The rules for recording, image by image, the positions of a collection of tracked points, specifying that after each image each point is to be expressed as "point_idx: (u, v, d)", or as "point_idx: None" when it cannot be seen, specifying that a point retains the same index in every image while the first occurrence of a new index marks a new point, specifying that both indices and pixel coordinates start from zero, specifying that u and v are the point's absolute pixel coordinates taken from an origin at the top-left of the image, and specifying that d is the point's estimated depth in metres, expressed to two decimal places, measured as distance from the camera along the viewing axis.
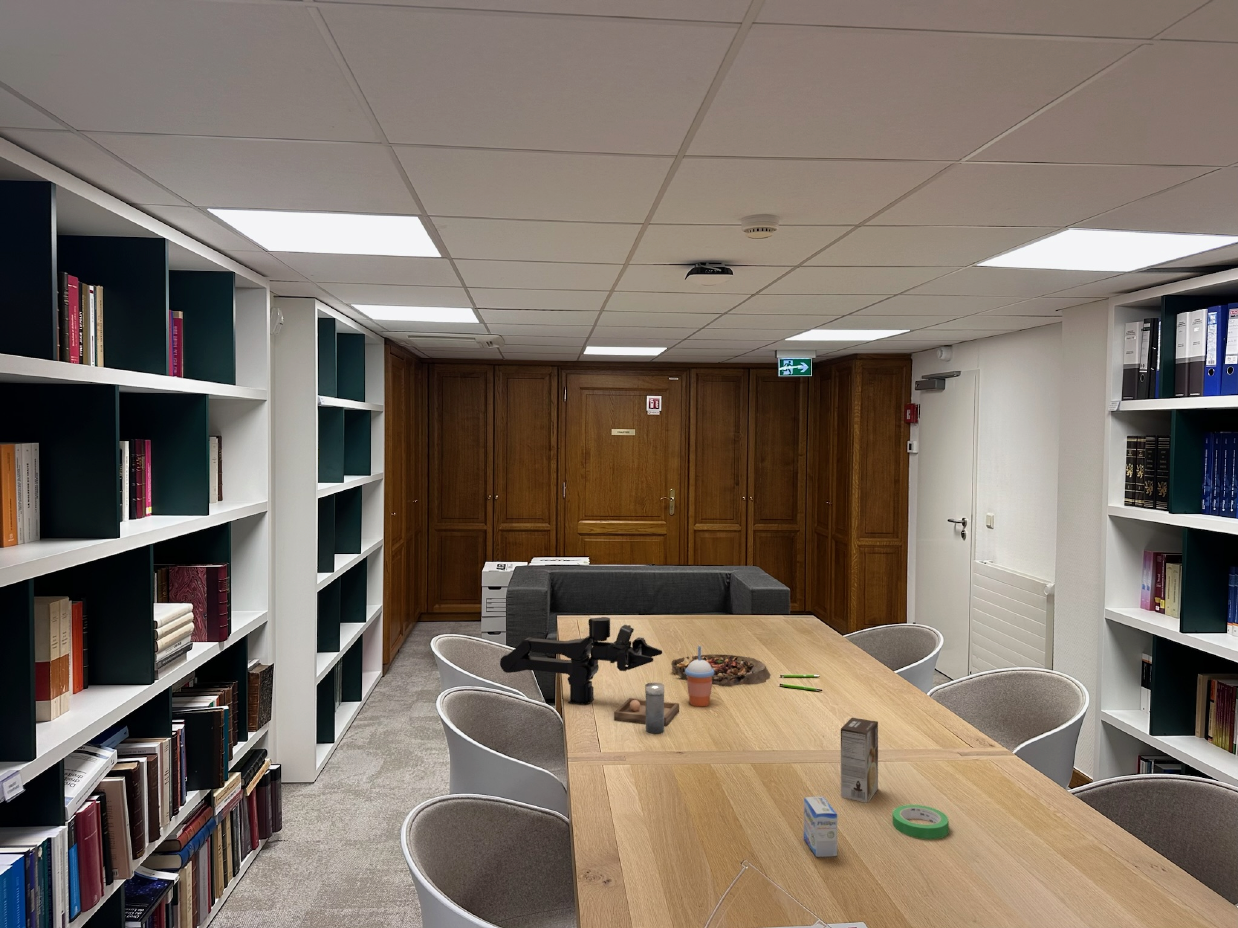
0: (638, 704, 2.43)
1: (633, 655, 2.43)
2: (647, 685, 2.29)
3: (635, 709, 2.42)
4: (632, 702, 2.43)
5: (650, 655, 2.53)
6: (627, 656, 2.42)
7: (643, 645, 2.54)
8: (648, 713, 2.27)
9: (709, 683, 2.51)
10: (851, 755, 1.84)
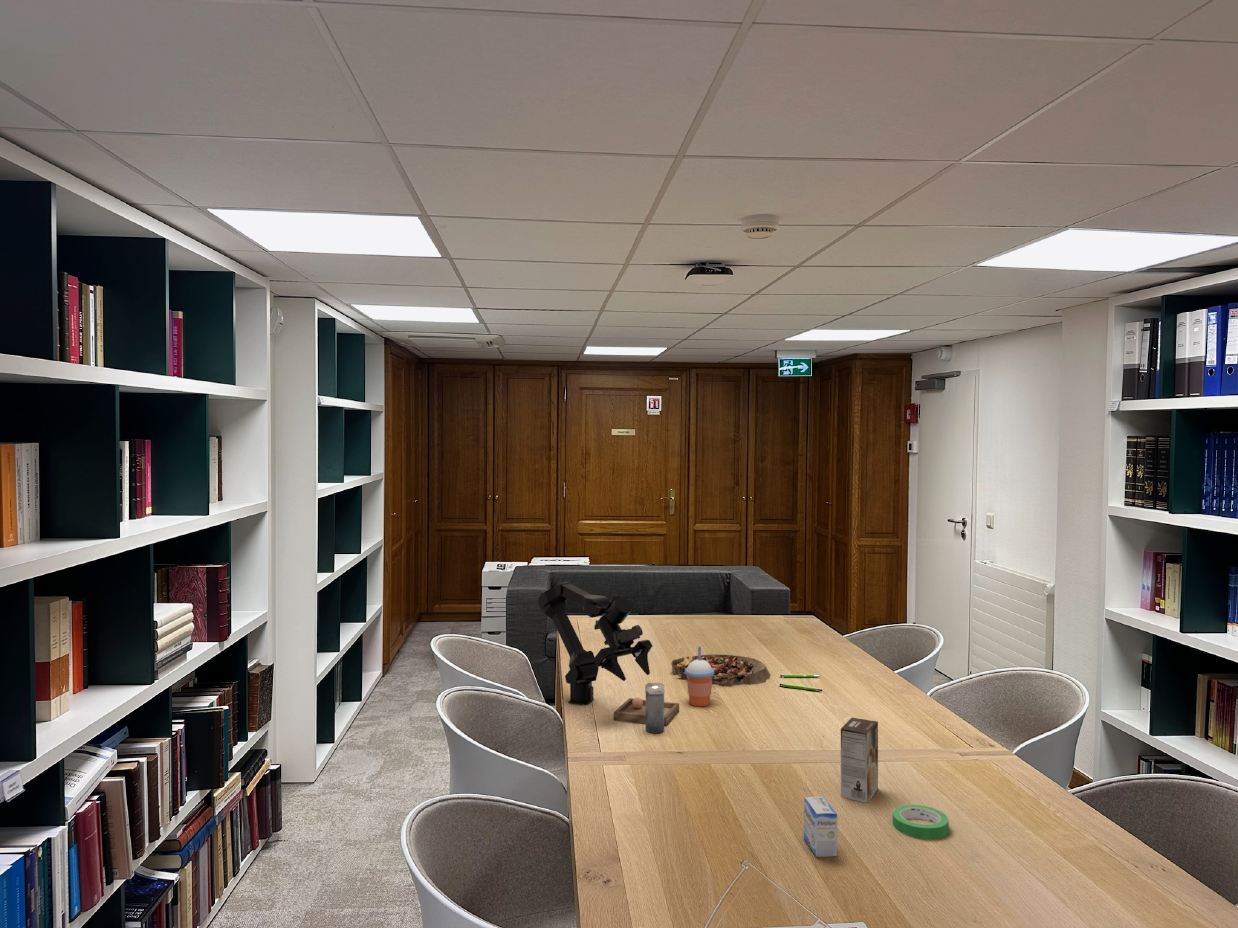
0: (642, 701, 2.46)
1: (612, 662, 2.33)
2: (647, 685, 2.29)
3: (638, 699, 2.45)
4: None
5: (640, 665, 2.41)
6: (606, 659, 2.33)
7: (642, 653, 2.41)
8: (648, 713, 2.27)
9: (709, 683, 2.51)
10: (851, 755, 1.84)
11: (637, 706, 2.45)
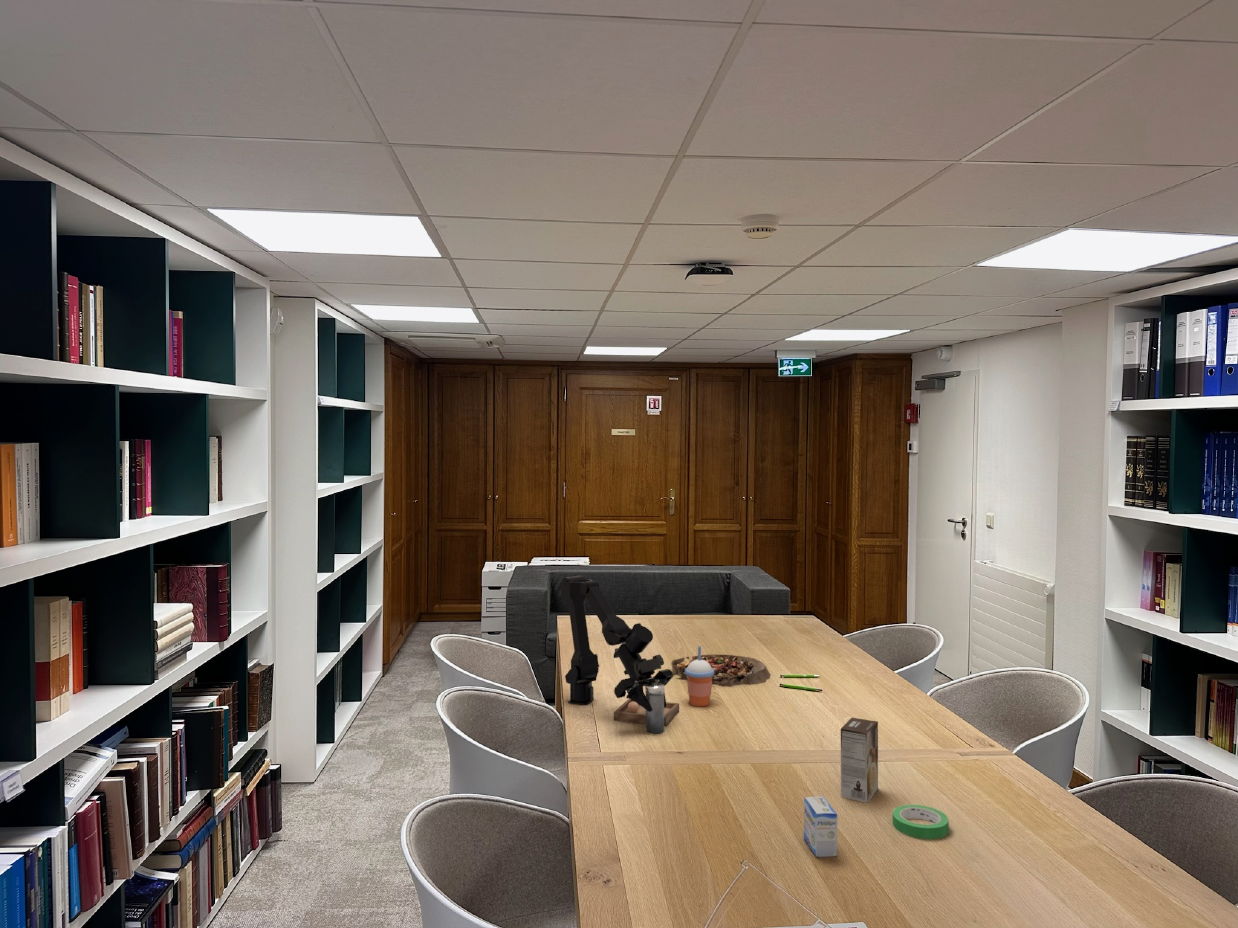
0: (636, 708, 2.41)
1: (638, 692, 2.27)
2: (647, 685, 2.29)
3: None
4: (630, 709, 2.41)
5: None
6: (632, 689, 2.27)
7: None
8: (648, 713, 2.27)
9: (709, 683, 2.51)
10: (851, 755, 1.84)
11: None
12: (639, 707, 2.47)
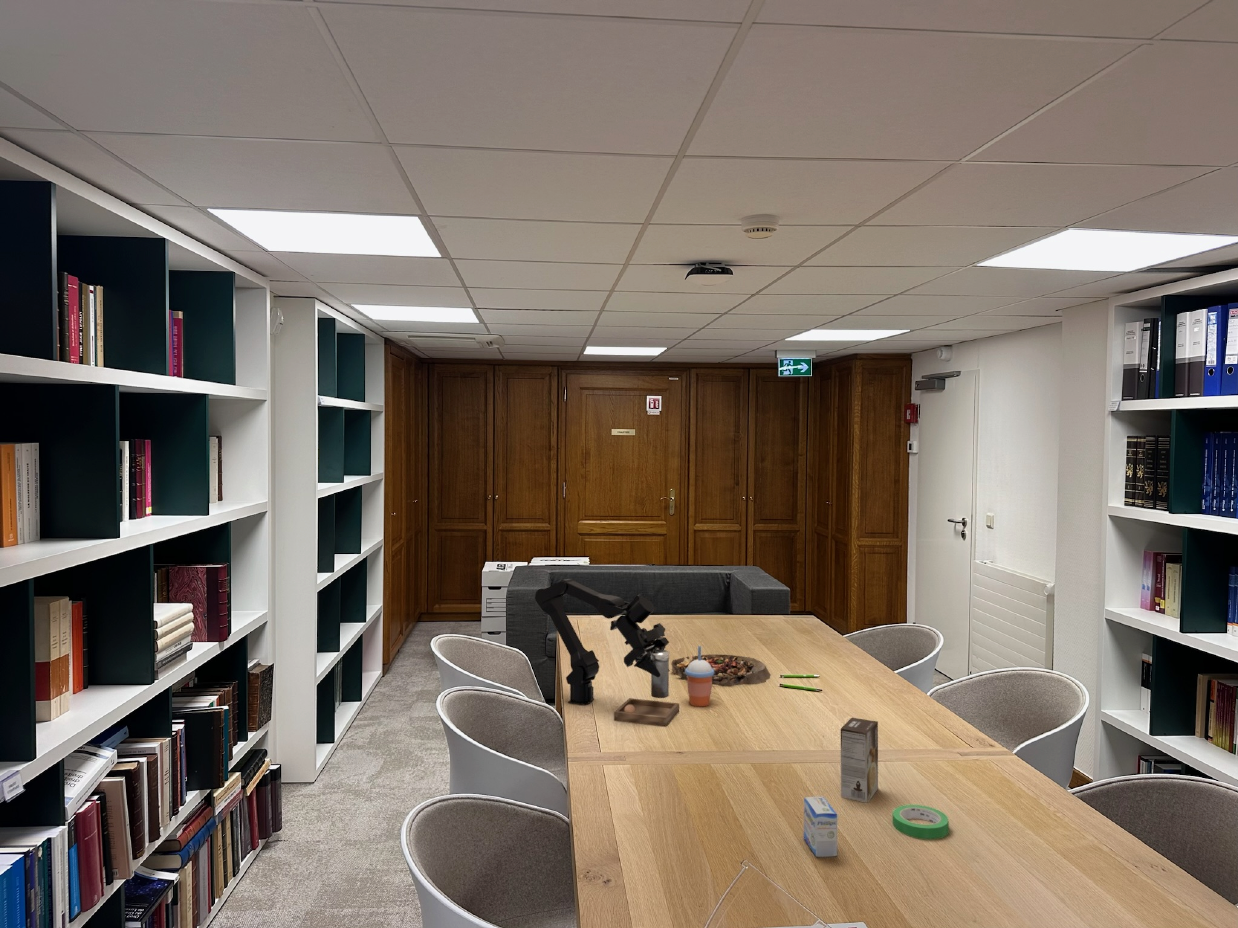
0: None
1: (647, 659, 2.38)
2: (653, 652, 2.40)
3: None
4: None
5: None
6: (641, 657, 2.37)
7: None
8: (656, 678, 2.38)
9: (709, 683, 2.51)
10: (851, 755, 1.84)
11: (630, 705, 2.39)
12: (639, 707, 2.47)
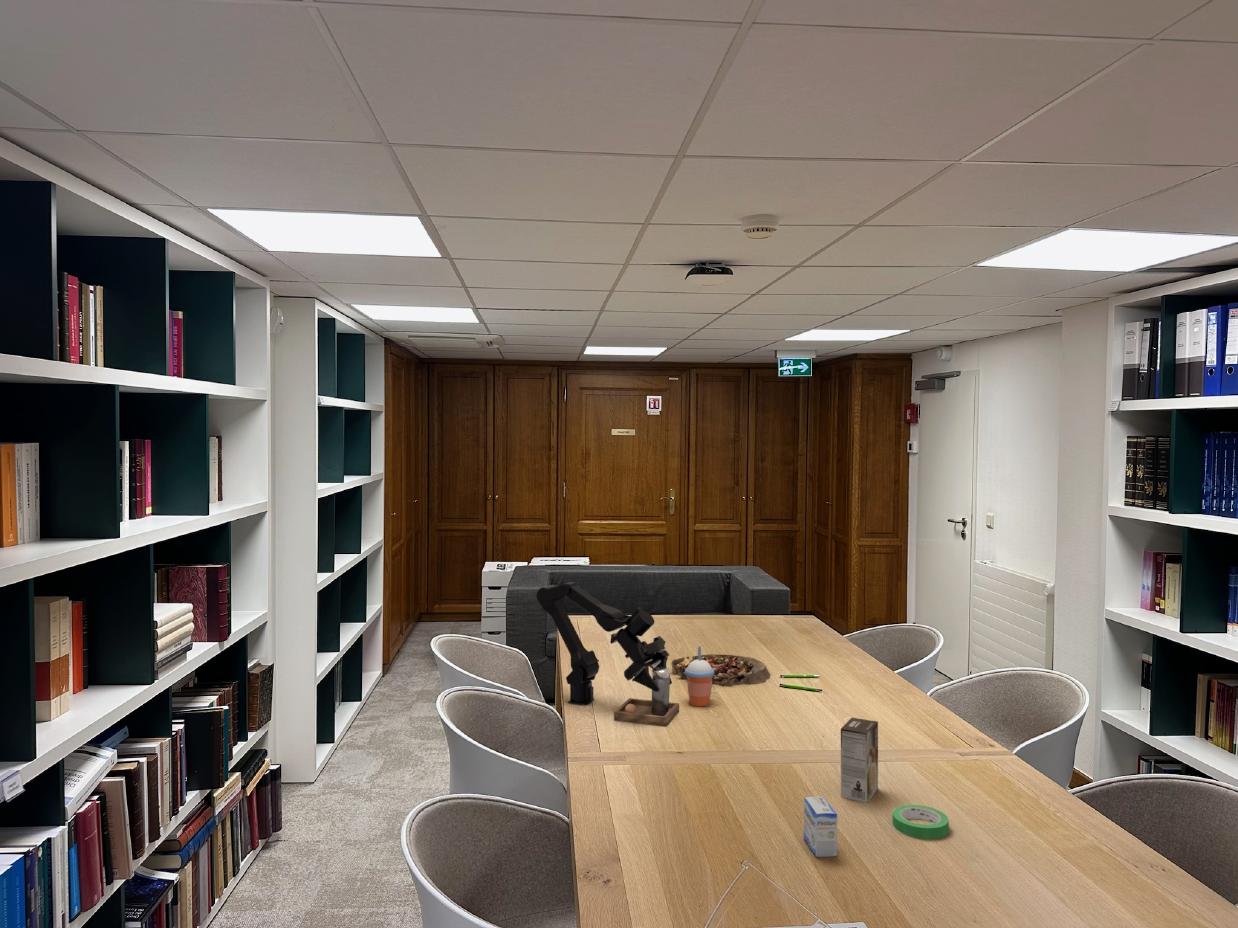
0: (634, 712, 2.40)
1: (645, 674, 2.37)
2: (655, 669, 2.40)
3: None
4: None
5: None
6: (639, 671, 2.36)
7: (661, 663, 2.46)
8: (657, 696, 2.39)
9: (709, 683, 2.51)
10: (851, 755, 1.84)
11: (632, 704, 2.40)
12: (639, 707, 2.47)
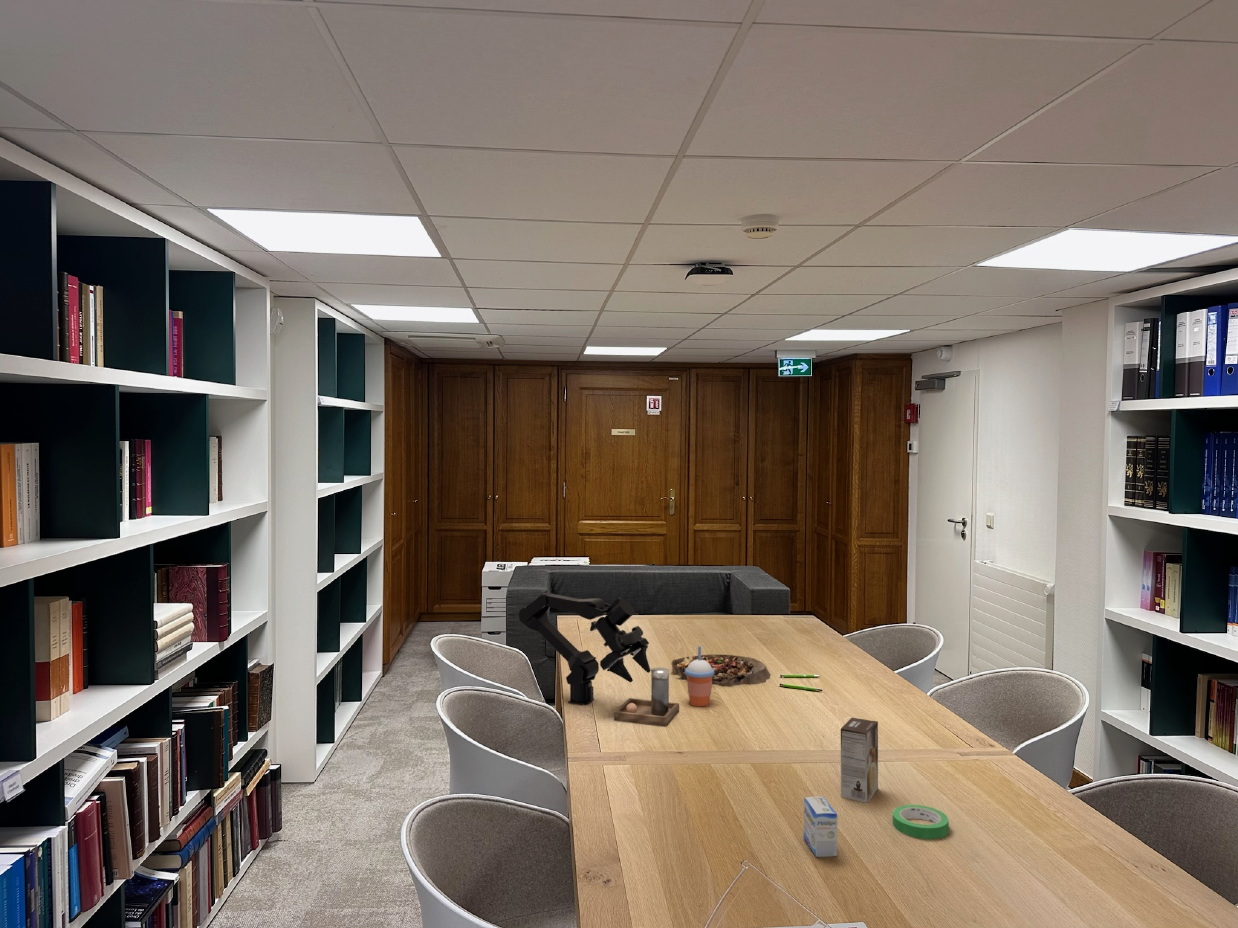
0: (635, 711, 2.40)
1: (619, 665, 2.41)
2: (653, 670, 2.40)
3: None
4: None
5: (640, 663, 2.50)
6: (613, 663, 2.40)
7: (641, 652, 2.50)
8: (656, 697, 2.39)
9: (709, 683, 2.51)
10: (851, 755, 1.84)
11: None
12: (639, 707, 2.47)
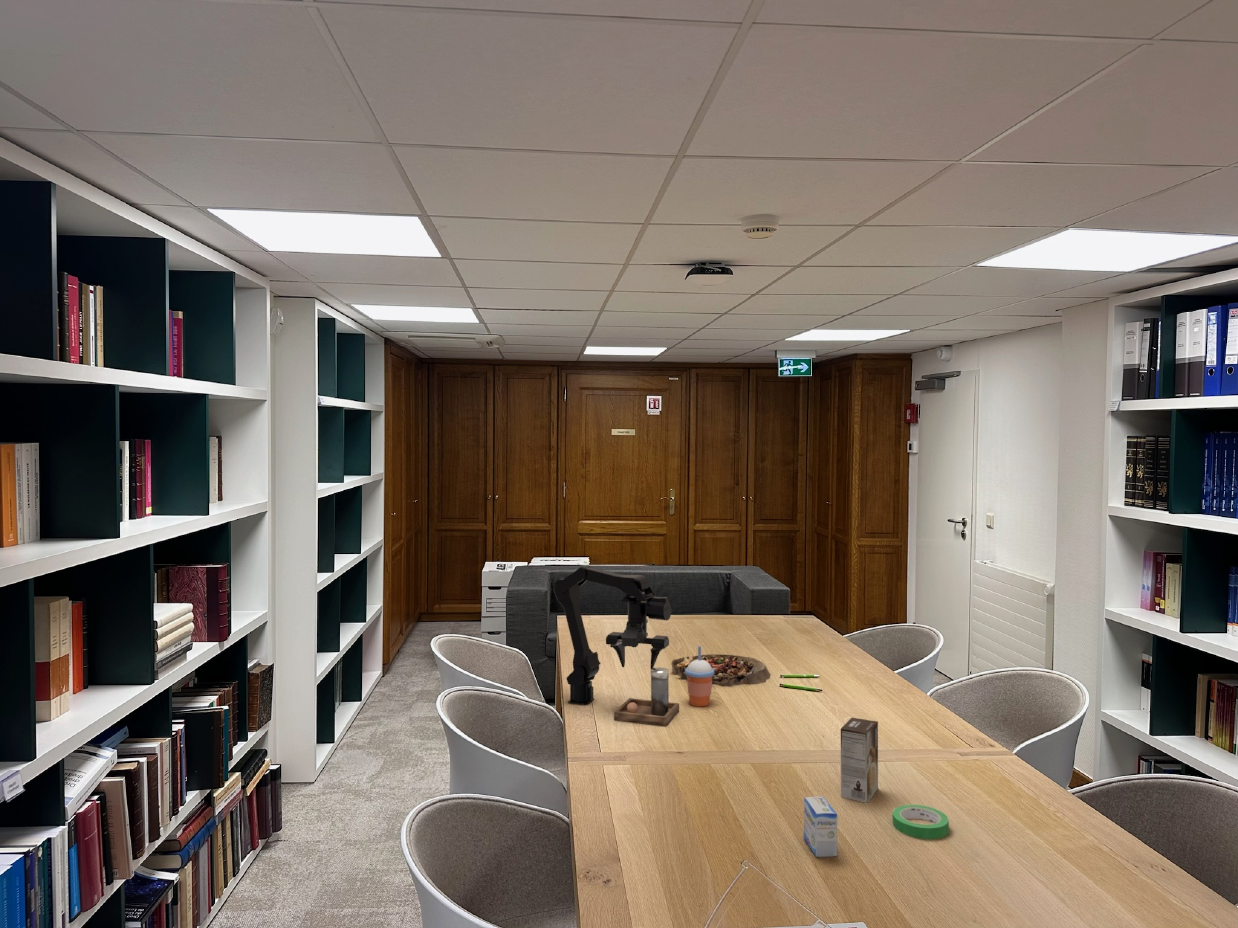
0: (635, 710, 2.40)
1: None
2: (653, 670, 2.40)
3: None
4: (629, 711, 2.40)
5: None
6: None
7: None
8: (656, 697, 2.39)
9: (709, 683, 2.51)
10: (851, 755, 1.84)
11: None
12: (639, 707, 2.47)
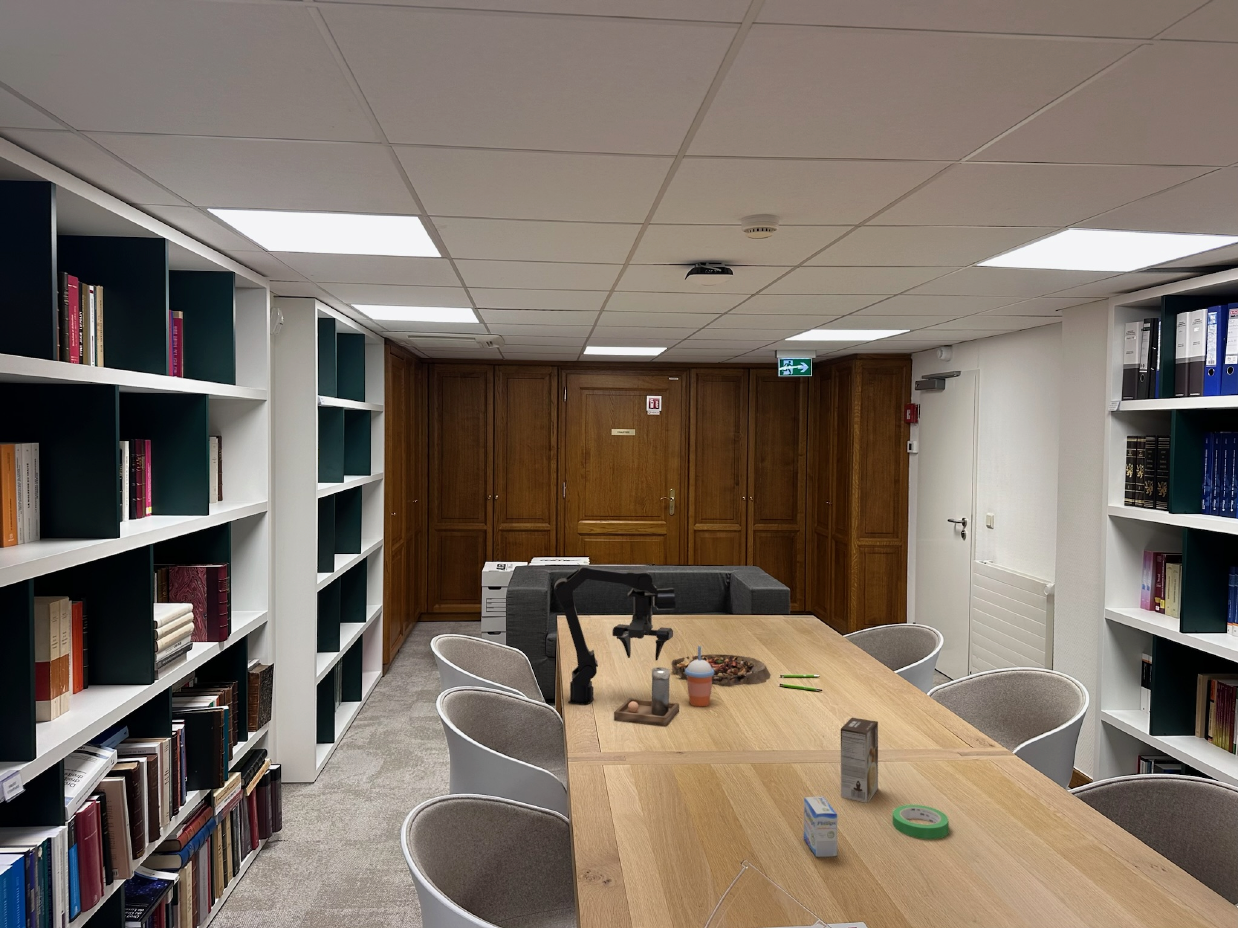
0: (636, 708, 2.41)
1: None
2: (654, 670, 2.40)
3: (635, 711, 2.42)
4: (630, 708, 2.41)
5: None
6: None
7: None
8: (657, 696, 2.39)
9: (709, 683, 2.51)
10: (851, 755, 1.84)
11: None
12: (639, 707, 2.47)
